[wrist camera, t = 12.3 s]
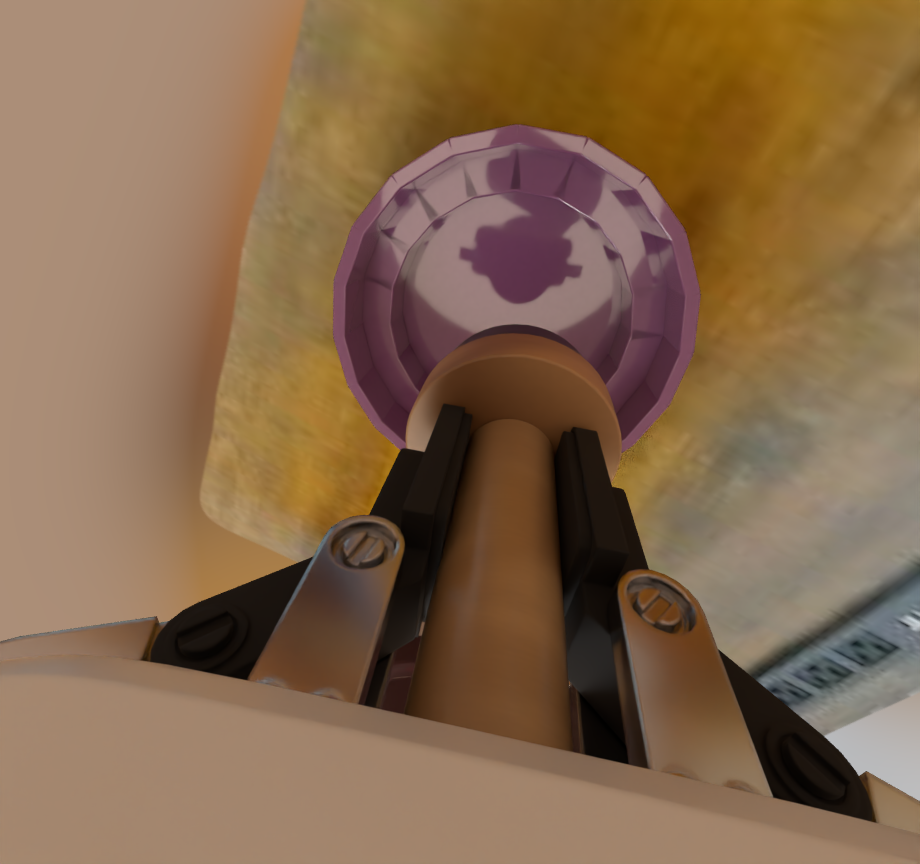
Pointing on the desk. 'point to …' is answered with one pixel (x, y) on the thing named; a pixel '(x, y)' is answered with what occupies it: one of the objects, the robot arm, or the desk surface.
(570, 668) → the robot arm
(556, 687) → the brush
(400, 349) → the bowl
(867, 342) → the desk surface
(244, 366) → the desk surface
